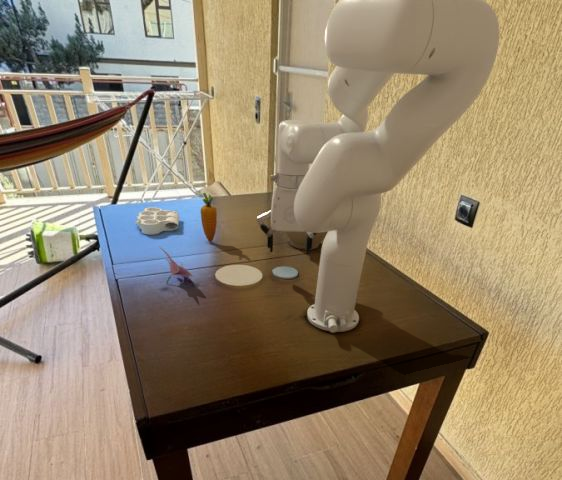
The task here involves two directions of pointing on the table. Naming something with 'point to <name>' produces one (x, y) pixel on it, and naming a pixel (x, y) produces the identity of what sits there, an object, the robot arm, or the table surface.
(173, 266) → the lily
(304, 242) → the planter bowl
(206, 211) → the carrot
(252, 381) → the table surface
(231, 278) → the dessert plate
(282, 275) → the blue-grey cylinder
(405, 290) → the table surface
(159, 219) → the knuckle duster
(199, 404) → the table surface
